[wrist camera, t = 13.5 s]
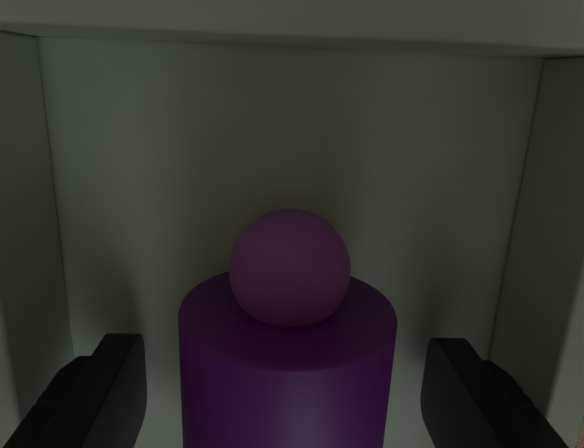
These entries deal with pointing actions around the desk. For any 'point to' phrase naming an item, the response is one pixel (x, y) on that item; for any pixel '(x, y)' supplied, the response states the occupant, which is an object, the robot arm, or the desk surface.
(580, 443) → the desk surface
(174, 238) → the tray
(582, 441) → the desk surface
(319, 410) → the candy
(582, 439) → the desk surface
